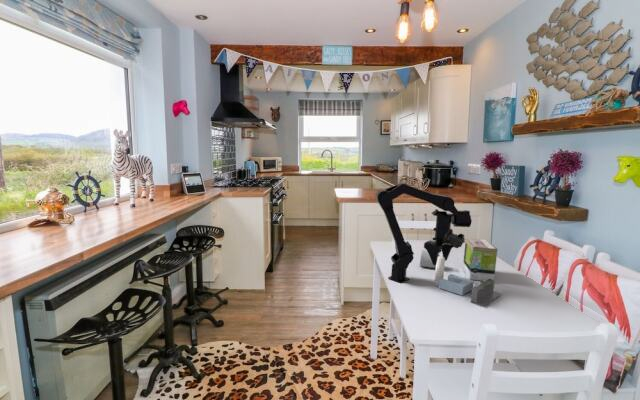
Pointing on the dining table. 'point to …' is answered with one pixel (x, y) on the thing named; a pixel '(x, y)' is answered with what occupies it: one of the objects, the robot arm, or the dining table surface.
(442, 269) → the dowel
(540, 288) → the dining table surface
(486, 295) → the stop wall
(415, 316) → the dining table surface
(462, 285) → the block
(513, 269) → the dining table surface
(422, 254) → the ceramic mug
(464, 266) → the tea box
